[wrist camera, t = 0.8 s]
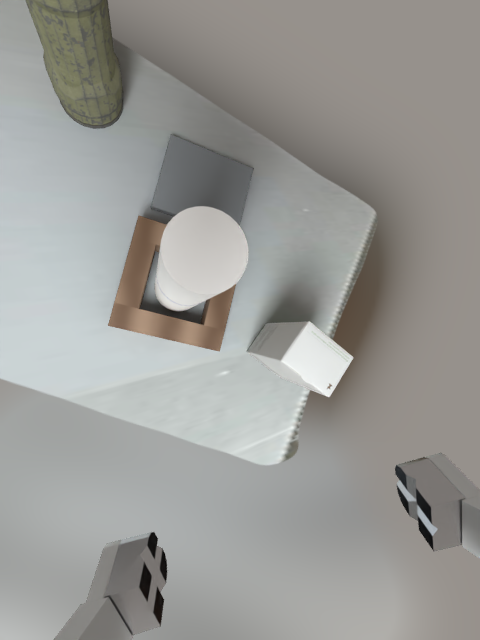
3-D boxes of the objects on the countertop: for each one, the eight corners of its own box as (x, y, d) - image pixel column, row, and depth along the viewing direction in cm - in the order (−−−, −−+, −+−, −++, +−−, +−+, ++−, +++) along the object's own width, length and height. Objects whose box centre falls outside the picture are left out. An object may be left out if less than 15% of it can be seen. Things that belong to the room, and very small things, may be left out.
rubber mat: (151, 208, 48) (151, 206, 47) (170, 137, 49) (170, 134, 48) (235, 237, 52) (237, 235, 51) (251, 171, 53) (253, 168, 52)
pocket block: (111, 325, 46) (108, 325, 42) (139, 224, 47) (138, 215, 44) (214, 349, 50) (219, 351, 46) (236, 256, 52) (244, 250, 48)
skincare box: (300, 350, 55) (357, 357, 40) (279, 381, 53) (330, 401, 38) (265, 321, 53) (311, 318, 38) (242, 352, 52) (281, 362, 37)
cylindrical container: (144, 282, 47) (141, 235, 23) (183, 257, 49) (216, 190, 25) (172, 320, 48) (196, 312, 24) (209, 294, 50) (264, 264, 26)
